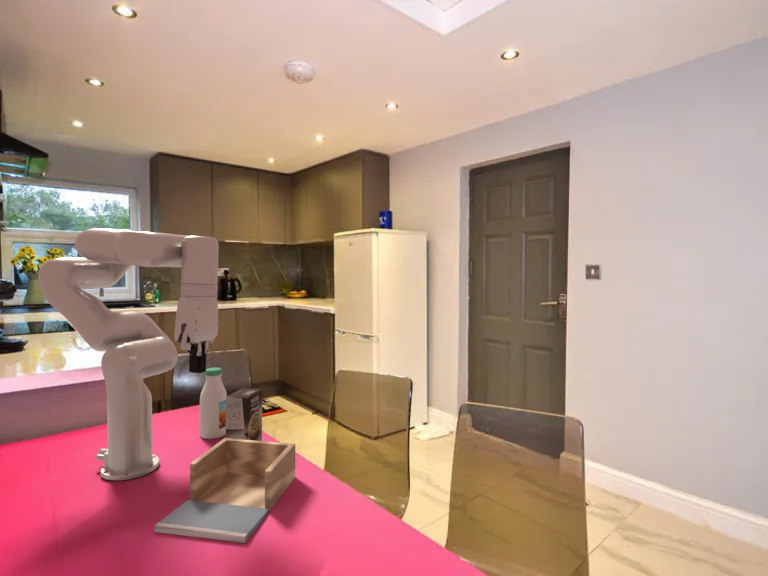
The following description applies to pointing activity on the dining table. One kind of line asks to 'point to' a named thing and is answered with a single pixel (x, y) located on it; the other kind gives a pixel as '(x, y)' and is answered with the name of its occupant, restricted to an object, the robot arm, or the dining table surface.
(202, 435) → the milk bottle
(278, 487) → the crate
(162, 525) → the panel
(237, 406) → the coffee box
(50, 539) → the dining table surface
